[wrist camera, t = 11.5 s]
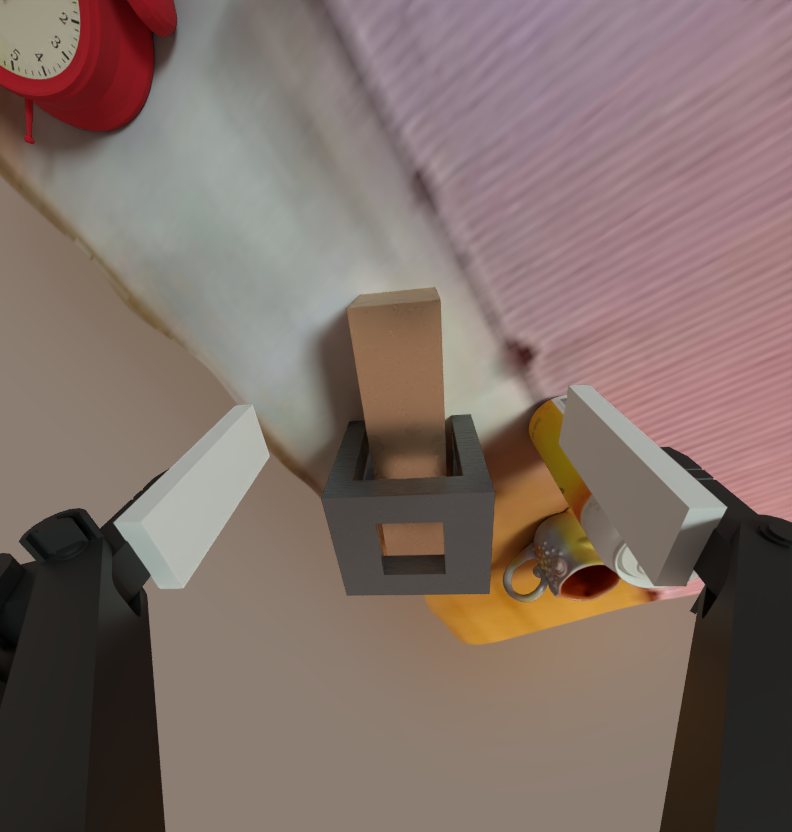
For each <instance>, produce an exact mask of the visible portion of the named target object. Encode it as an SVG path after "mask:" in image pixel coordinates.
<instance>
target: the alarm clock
mask: <svg viewBox="0 0 792 832" xmlns="http://www.w3.org/2000/svg"><path fill="white" fill-rule="evenodd" d="M176 25H177V15H176V10H175V5H174V1H173V0H0V85H1V86H2V87H4V88H6V89H7V90H9V91H11V92H13V93H15V94H17V95H19V96H21V97H24V98H25V118H26V130H27V135H26V136H24V139H25V141H26V142H28V143H30V144H34V143H35V141H34V139H33V138H32V122H33V102H34V103H35V104H36V105H38V106H39V107H40V108H41V109H43V110H44V111H46V112H47V113H49V114H50V115H52V116H53V117H55V118H57V119H59V120H60V121H63V122H65V123H67V124H70V125H72V126H75V127H78V128H82V129H85V130H90V131H110V130H114V129H117V128H120V127H122V126H124V125H125V124H127V123H128V122H130V121H131V120H132V119H133V118H134V117H135V116H136V115H137V114H138V113H139V111H140V110H141V108H142V107H143V105H144V103H145V101H146V99H147V96H148V93H149V90H150V87H151V82H152V76H153V67H154V49H153V38H152V32H154V33H155V34H157V35H158V36H160V37H161V38H162V37H166V36H169V35H171V34H172V33H173V32H174V31H175V28H176ZM151 31H152V32H151Z"/></svg>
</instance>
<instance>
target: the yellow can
mask: <svg viewBox="0 0 792 832" xmlns="http://www.w3.org/2000/svg"><path fill="white" fill-rule="evenodd" d="M566 399H567V395H563V396H559V397H556V398H553V399H551V400H549V401H547V402H546V403H544V404H543V405H542V406H541V407H539V408H538V409H537V411H536V412H535V413H534V415H533V416H532V418H531V421H530V424H529V435H530V438H531V440H532V442H533V443H534V445H535V447H536V449H537V450H538V452H539V454H540V456H541V457H542V459H543V461H544V463H545V464H546V466H547V468H548V469H549V471H550V473H551V475H552V476H553V478H554V480H555V482H556V483H557V485H558V487H559V489H560V490H561V492H562V494H563V496H564V497H565V499H566V501H567V502H568V504H569V506H570V508H571V509H572V511H573V513H574V515H575V516H576V518H577V520H578V522H579V523H580V525H581V527H582V529H583V530H584V532H585V534H586V535H587V537H588V539H589V541H590V542H591V544H592V546H593V548H594V549H595V551H596V553H597V555H598V556H599V558H600V560H601V561H602V562H603V563H604V564H605V565H606V566H607V567H609V568H610V569H611V570H613V571H614V572H616V573H617V574H618V575H619V577H620V578H621V579H623V580H624V581H625V582H627V583H629V584H631V585H634V586H638V587H643V588H665V587H671V586H654V585H653V584H652V582H651V581H650V579H649V578H648V576H647V575H646V573H645V572H644V570H643V569H642V567H641V566H640V565H639V563H638V562H637V560H636V559H635V557H634V556H633V554H632V553H631V551H630V550H629V548H628V547H627V545H626V544H625V542H624V541H623V539H622V538H621V536H620V535H619V533H618V532H617V530H616V529H615V527H614V526H613V524H612V523H611V521H610V520H609V518H608V517H607V515H606V514H605V512H604V511H603V509H602V508H601V506H600V505H599V503H598V502H597V500H596V499H595V497H594V496H593V494H592V493H591V491H590V490H589V488H588V487H587V485H586V484H585V482H584V481H583V479H582V478H581V476H580V475H579V474H578V472H577V471H576V469H575V468H574V466H573V465H572V463H571V462H570V460H569V459H568V457H567V456H566V454H565V453H564V451H563V450H562V448H561V447H560V445H559V439H560V433H561V428H562V422H563V416H564V411H565V405H566ZM697 577H699V576H698V575H697V573H696V572H695V571H693V573H692V575H691V577H690V579H689V581H691V580H693V579H695V578H697Z"/></svg>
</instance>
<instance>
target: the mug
mask: <svg viewBox="0 0 792 832" xmlns="http://www.w3.org/2000/svg"><path fill="white" fill-rule="evenodd" d="M530 559H535V560H537V561H538V565H537V566H535V567H534V569H533V574H534V575H535V576H536V577H538V578H541V581H540V584H539V585H538V587H537V588H536V589H535V590H534V591H533V592H531V593H529V594H526V595H522V594H518V593H517V592H515V591H514V590H513V588H512V584H511V578H512V575H513V573H514V571H515V570H516V569H517V568H518V567H519V566H520V565H521V564H522V563H524V562H526V561H528V560H530ZM620 580H621V578H620V577H619V575H618V574H617V573H616V572H614V571H613V570H611V569H610V568H609V567H607V566H606V565H605V564H604V563H603V562H602V561H601V560H600V558H599V556H598V555H597V553H596V551H595V549H594V548H593V546H592V544H591V542H590V541H589V539H588V537H587V535H586V534H585V532H584V530H583V529H582V527H581V525H580V523H579V522H578V520H577V518H576V516H575V515H574V513H573V511H572V509H571V508H570V507H569V508H568V509H567V510H566V511H565V512H563V513H559V514H556V515H553V516H551V517H549V518H548V519H546V520H545V521H543V522H542V523H541V524H540V525H539V526H538V528H537V530H536V532H535V536H534V541H533V542H532V543H531V544H529V545H528V546H527V547H526V548H525V549H523V550H522V551H521V552H520V553H518V554H517V555H516V556H515V557H514V558H513V559H512V560H511V562H510V563H509V564H508V566H507V568H506V570H505V572H504V575H503V585H504V588H505V590H506V592H507V594H508V595H509V596H511V597H512V598H513V599H515V600H517V601H520V602H532V601H535V600H537V599H538V598H539V597H540V596H541V595H542V594H543V592H544V591H545V589H546V587H547V585H549V588H550V590H551V592H552V593H553V594H554V596H556V597H563V598H567V599H570V600H575V601H592V600H595V599H597V598H599V597H600V596H602V595H604V594H606V593H607V592H609V591H611V590H612V589H614V588H615V587H616V586H617V585H618V584H619V582H620Z"/></svg>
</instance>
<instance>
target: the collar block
mask: <svg viewBox="0 0 792 832" xmlns="http://www.w3.org/2000/svg"><path fill="white" fill-rule="evenodd" d="M451 423H452V468H453V476H451V477H428V478H405V479H383V480H375V479H374V473H373V467H372V461H371V455H370V449H369V443H368V437H367V431H366V424H365V421H354V422H349V424H348V427H347V430H346V432H345V435H344V438H343V441H342V443H341V446H340V449H339V452H338V454H337V457H336V460H335V463H334V465H333V468H332V471H331V474H330V476H329V479H328V482H327V485H326V487H325V490H324V493H323V496H322V498H321V500H322V504H323V507H324V511H325V515H326V519H327V522H328V526H329V530H330V534H331V538H332V541H333V545H334V549H335V553H336V556H337V560H338V564H339V568H340V571H341V575H342V579H343V583H344V586H345V590H346V594H347V595H436V594H490V576H491V557H492V539H493V521H494V502H495V490H494V487H493V484H492V481H491V478H490V474H489V471H488V468H487V465H486V462H485V458H484V455H483V452H482V449H481V446H480V442H479V439H478V436H477V433H476V430H475V426H474V423H473V420H472V417H471V414H470V415H453V416H451ZM427 522H443V535H444V554H441V555H396V556H384V555H383V549H382V543H381V537H380V531H379V525H378V524H395V523H427Z"/></svg>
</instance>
